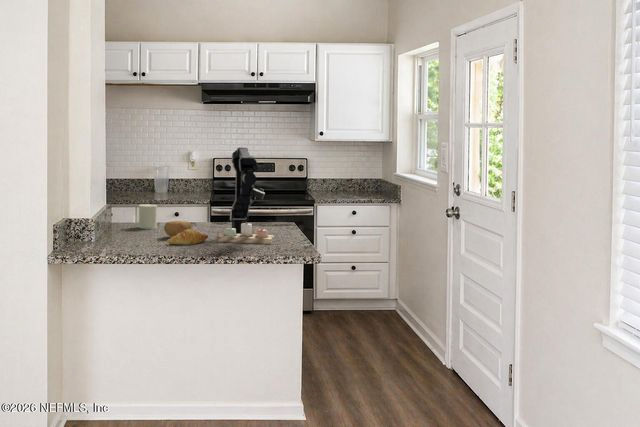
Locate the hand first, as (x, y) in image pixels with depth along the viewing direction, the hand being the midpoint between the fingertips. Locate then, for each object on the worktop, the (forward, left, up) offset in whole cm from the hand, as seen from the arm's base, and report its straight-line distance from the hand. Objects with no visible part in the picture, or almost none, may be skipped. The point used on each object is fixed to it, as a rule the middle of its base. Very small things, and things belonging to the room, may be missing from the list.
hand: (246, 216), depth 379 cm
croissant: (-17, -22, -12) cm, 31 cm away
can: (-62, +3, -12) cm, 63 cm away
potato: (-31, -12, -12) cm, 35 cm away
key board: (0, 0, -12) cm, 12 cm away
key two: (0, 0, -9) cm, 9 cm away
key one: (-7, -3, -12) cm, 14 cm away
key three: (+7, +3, -12) cm, 14 cm away
